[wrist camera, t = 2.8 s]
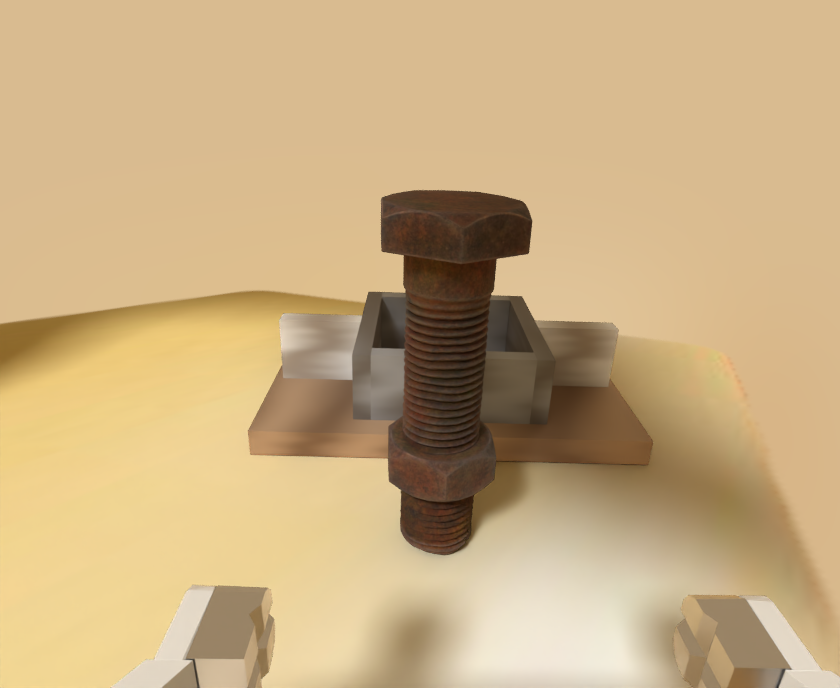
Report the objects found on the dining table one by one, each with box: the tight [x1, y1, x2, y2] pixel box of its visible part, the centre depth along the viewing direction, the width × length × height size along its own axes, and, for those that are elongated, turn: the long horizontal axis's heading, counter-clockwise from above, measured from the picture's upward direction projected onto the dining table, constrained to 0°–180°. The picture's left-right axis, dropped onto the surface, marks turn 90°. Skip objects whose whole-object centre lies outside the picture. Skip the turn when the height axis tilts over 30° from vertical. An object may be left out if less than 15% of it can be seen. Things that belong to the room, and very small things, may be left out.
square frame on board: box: [248, 292, 653, 465], centre depth 37 cm, size 22×14×6 cm, turn 90°
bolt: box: [381, 190, 532, 555], centre depth 23 cm, size 6×5×15 cm
